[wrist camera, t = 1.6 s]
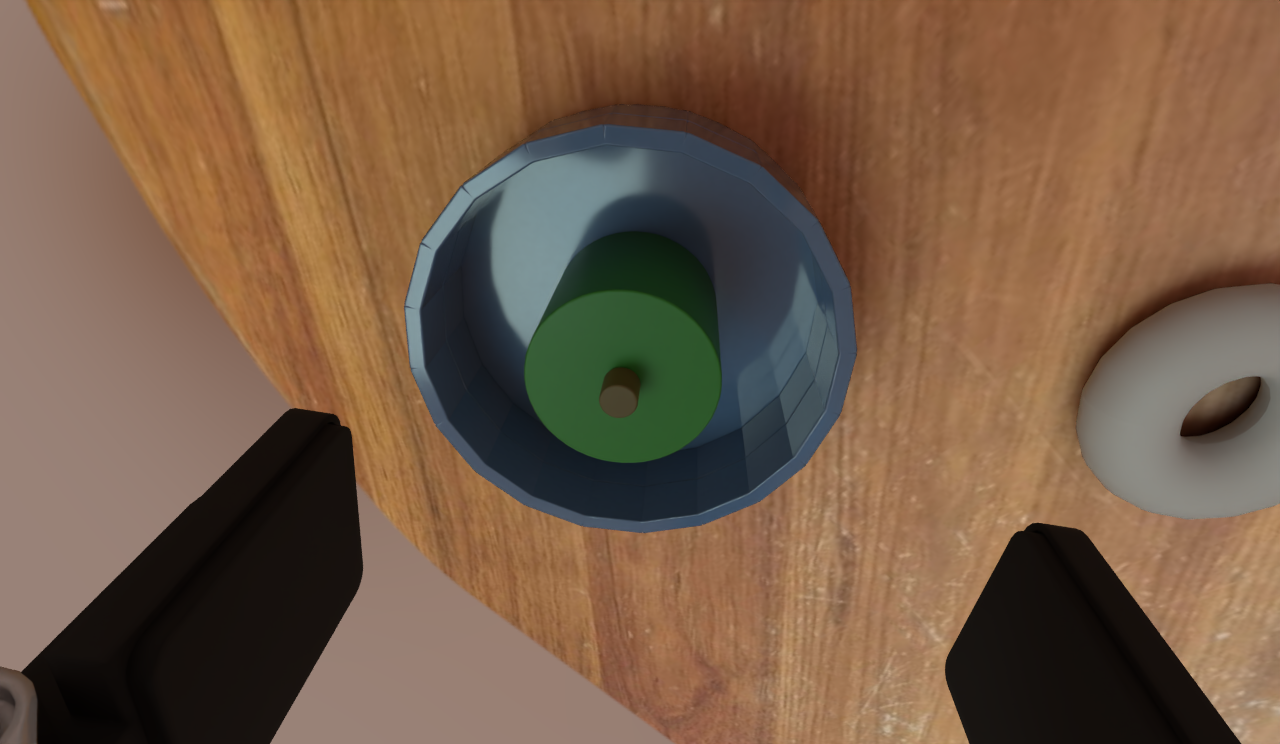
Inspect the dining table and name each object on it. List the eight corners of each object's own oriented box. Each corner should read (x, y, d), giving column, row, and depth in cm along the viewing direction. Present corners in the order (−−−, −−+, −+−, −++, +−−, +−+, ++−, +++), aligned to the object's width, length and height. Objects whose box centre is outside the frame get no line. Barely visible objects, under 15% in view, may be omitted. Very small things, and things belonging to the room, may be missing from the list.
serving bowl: (414, 383, 30) (365, 447, 26) (516, 29, 23) (473, 35, 18) (723, 501, 32) (728, 580, 27) (906, 208, 25) (951, 252, 20)
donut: (1313, 457, 29) (1360, 238, 24) (1386, 511, 26) (1455, 274, 21) (1060, 500, 31) (1058, 306, 26) (1100, 556, 28) (1106, 348, 23)
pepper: (535, 344, 28) (489, 443, 22) (589, 203, 25) (554, 271, 19) (676, 400, 29) (671, 511, 22) (744, 270, 26) (761, 356, 19)
